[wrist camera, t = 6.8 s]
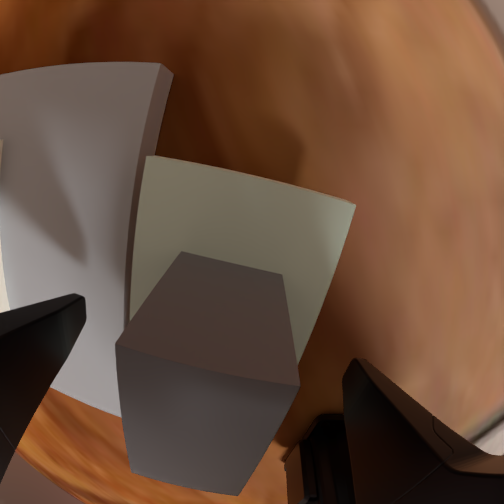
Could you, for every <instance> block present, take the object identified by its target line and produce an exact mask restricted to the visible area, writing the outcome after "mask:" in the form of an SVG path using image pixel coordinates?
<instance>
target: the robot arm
mask: <svg viewBox="0 0 504 504" xmlns="http://www.w3.org/2000/svg"><path fill="white" fill-rule="evenodd" d="M86 319H87V314H86V300H85V297H84V296H82V295H79V294H76V293H72V294H68V295H64V296H61V297H57V298H53V299H49V300H46V301H42V302H38V303H35V304H31V305H27V306H24V307H20V308H16V309H12V310H9V311H5V312H1V313H0V483H1V480H2V479H3V476H4V474H5V471H6V469H7V467H8V465H9V463H10V461H11V458H12V456H13V454H14V452H15V450H16V448H17V446H18V444H19V442H20V440H21V438H22V436H23V434H24V432H25V430H26V428H27V426H28V424H29V423H30V421H31V419H32V417H33V415H34V413H35V412H36V410H37V408H38V406H39V405H40V403H41V401H42V399H43V398H44V396H45V394H46V392H47V391H48V389H49V387H50V386H51V384H52V382H53V381H54V379H55V377H56V376H57V374H58V373H59V371H60V369H61V368H62V366H63V365H64V363H65V362H66V360H67V358H68V356H69V355H70V353H71V351H72V349H73V347H74V345H75V343H76V341H77V339H78V337H79V335H80V333H81V331H82V329H83V327H84V325H85V323H86ZM342 390H343V407H344V415H335V414H323V415H320V416H318V417H317V418H316V419H315V420H314V422H313V424H312V425H311V427H310V428H309V430H308V431H307V433H306V434H305V436H304V437H303V439H302V440H301V441H299V442H298V443H297V445H296V446H295V448H294V449H293V451H292V452H291V454H290V455H289V456H288V458H287V459H286V463H285V465H284V470H285V471H286V478H287V496H288V504H504V455H503V456H497V455H491V454H488V453H486V452H484V451H482V450H481V449H479V448H478V447H476V446H475V445H473V444H472V443H470V442H469V441H467V440H466V439H464V438H463V437H462V436H460V435H459V434H457V433H456V432H454V431H453V430H452V429H450V428H449V427H448V426H446V425H445V424H444V423H442V422H441V421H440V420H439V419H437V418H436V417H435V416H432V414H431V413H430V412H429V411H428V410H426V409H425V408H424V407H423V406H421V405H420V404H419V403H418V402H417V401H415V400H414V399H413V398H412V397H410V396H409V395H408V394H407V393H406V392H404V391H403V390H402V389H401V388H399V387H398V386H397V385H396V384H395V383H393V382H392V381H391V380H390V379H389V378H387V377H386V376H385V375H384V374H382V373H381V372H380V371H379V370H378V369H376V368H375V367H374V366H373V365H372V364H370V363H369V362H368V361H367V360H365V359H361V358H354V359H352V361H351V362H350V364H349V366H348V368H347V370H346V372H345V373H344V375H343V378H342Z"/></svg>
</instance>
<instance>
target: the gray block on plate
mask: <svg viewBox="0 0 504 504" xmlns="http://www.w3.org/2000/svg"><path fill="white" fill-rule="evenodd" d="M355 208H356V205H355V204H353V203H352V202H350V201H348V200H345V199H342V198H338V197H335V196H331V195H328V194H324V193H321V192H317V191H314V190H310V189H306V188H303V187H299V186H295V185H291V184H288V183H284V182H280V181H276V180H272V179H268V178H264V177H259V176H255V175H251V174H247V173H242V172H238V171H233V170H229V169H224V168H219V167H214V166H210V165H205V164H200V163H194V162H189V161H184V160H178V159H173V158H167V157H161V156H146V161H145V167H144V173H143V179H142V185H141V191H140V198H139V205H138V213H137V221H136V230H135V239H134V250H133V262H132V276H131V294H130V322H129V324H128V325H127V327H126V328H125V330H124V331H123V332H122V334H121V335H120V337H119V338H118V340H117V341H116V343H115V355H116V370H117V382H118V392H119V401H120V409H121V417H122V424H123V430H124V436H125V442H126V448H127V453H128V458H129V463H130V468H131V472H132V473H135V474H138V475H141V476H145V477H148V478H151V479H155V480H159V481H162V482H166V483H170V484H174V485H178V486H182V487H187V488H192V489H197V490H202V491H207V492H213V493H219V494H226V495H234V496H238V495H239V494H240V492H241V491H242V489H243V488H244V486H245V485H246V483H247V481H248V480H249V478H250V477H251V475H252V473H253V472H254V470H255V469H256V467H257V465H258V464H259V462H260V460H261V459H262V457H263V455H264V454H265V452H266V450H267V448H268V447H269V445H270V443H271V441H272V440H273V438H274V436H275V434H276V432H277V431H278V429H279V427H280V425H281V423H282V421H283V420H284V418H285V416H286V414H287V412H288V410H289V408H290V406H291V404H292V402H293V400H294V398H295V396H296V394H297V392H298V390H299V388H300V386H301V385H300V379H299V372H298V363H299V361H300V359H301V357H302V354H303V352H304V349H305V347H306V345H307V342H308V340H309V337H310V335H311V333H312V330H313V328H314V325H315V323H316V320H317V318H318V315H319V312H320V310H321V307H322V305H323V302H324V299H325V297H326V294H327V291H328V289H329V286H330V283H331V280H332V278H333V275H334V272H335V269H336V266H337V263H338V261H339V258H340V255H341V252H342V249H343V246H344V243H345V240H346V237H347V233H348V230H349V227H350V224H351V221H352V217H353V214H354V211H355Z"/></svg>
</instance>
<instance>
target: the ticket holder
mask: <svg viewBox="0 0 504 504" xmlns="http://www.w3.org/2000/svg"><path fill="white" fill-rule="evenodd" d="M173 76H174V74H173V73H172V72H171V71H170V70H168V69H167V68H166V67H165V66H164V65H163V64H161V63H149V62H93V63H77V64H65V65H55V66H47V67H40V68H33V69H27V70H21V71H16V72H11V73H6V74H2V75H0V313H1V312H5V311H9V310H12V309H16V308H20V307H24V306H27V305H31V304H35V303H38V302H42V301H46V300H49V299H53V298H57V297H61V296H64V295H68V294H72V293H76V294H79V295H82V296H84V297H85V300H86V314H87V319H86V323H85V325H84V327H83V329H82V331H81V333H80V335H79V337H78V339H77V341H76V343H75V345H74V347H73V349H72V351H71V353H70V355H69V356H68V358H67V360H66V362H65V363H64V365H63V366H62V368H61V369H60V371H59V373H58V374H57V376H56V377H55V379H54V381H53V382H52V384H51V386H50V387H51V388H53V389H55V390H57V391H59V392H62V393H64V394H66V395H68V396H70V397H72V398H74V399H77V400H79V401H81V402H83V403H86V404H88V405H91V406H93V407H95V408H98V409H100V410H103V411H106V412H108V413H111V414H113V415H116V416H119V417H121V409H120V401H119V392H118V382H117V370H116V355H115V343H116V341H117V340H118V338H119V337H120V335H121V334H122V332H123V331H124V330H125V328H126V327H127V325H128V324H129V322H130V294H131V276H132V262H133V250H134V239H135V230H136V221H137V213H138V205H139V198H140V191H141V185H142V179H143V173H144V167H145V161H146V156H155V151H156V146H157V142H158V137H159V132H160V128H161V123H162V119H163V115H164V110H165V106H166V102H167V98H168V94H169V91H170V87H171V83H172V80H173Z"/></svg>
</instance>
